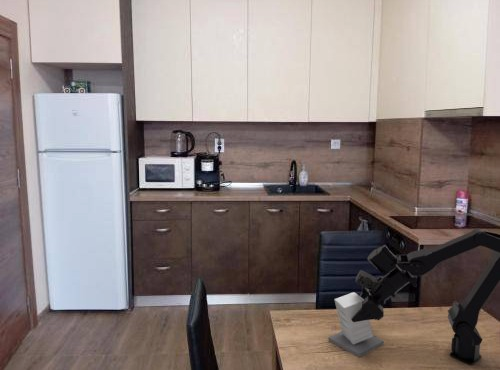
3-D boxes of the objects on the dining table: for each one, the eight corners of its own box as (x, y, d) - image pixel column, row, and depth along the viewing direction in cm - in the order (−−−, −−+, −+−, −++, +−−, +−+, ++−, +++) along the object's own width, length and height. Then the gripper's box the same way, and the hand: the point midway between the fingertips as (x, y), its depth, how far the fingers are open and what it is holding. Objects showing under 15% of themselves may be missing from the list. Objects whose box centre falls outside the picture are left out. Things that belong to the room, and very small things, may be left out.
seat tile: (383, 344, 128) (383, 340, 128) (359, 357, 121) (359, 353, 121) (352, 329, 137) (352, 325, 137) (328, 340, 130) (328, 337, 130)
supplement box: (362, 326, 133) (354, 291, 131) (373, 337, 126) (366, 299, 124) (341, 334, 132) (333, 298, 130) (352, 345, 125) (344, 307, 123)
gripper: (371, 254, 133) (336, 283, 138) (372, 274, 115) (332, 307, 120) (396, 279, 132) (360, 308, 137) (401, 304, 114) (359, 336, 119)
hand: (352, 313), depth 128 cm, fingers closed on supplement box, 9 cm apart
